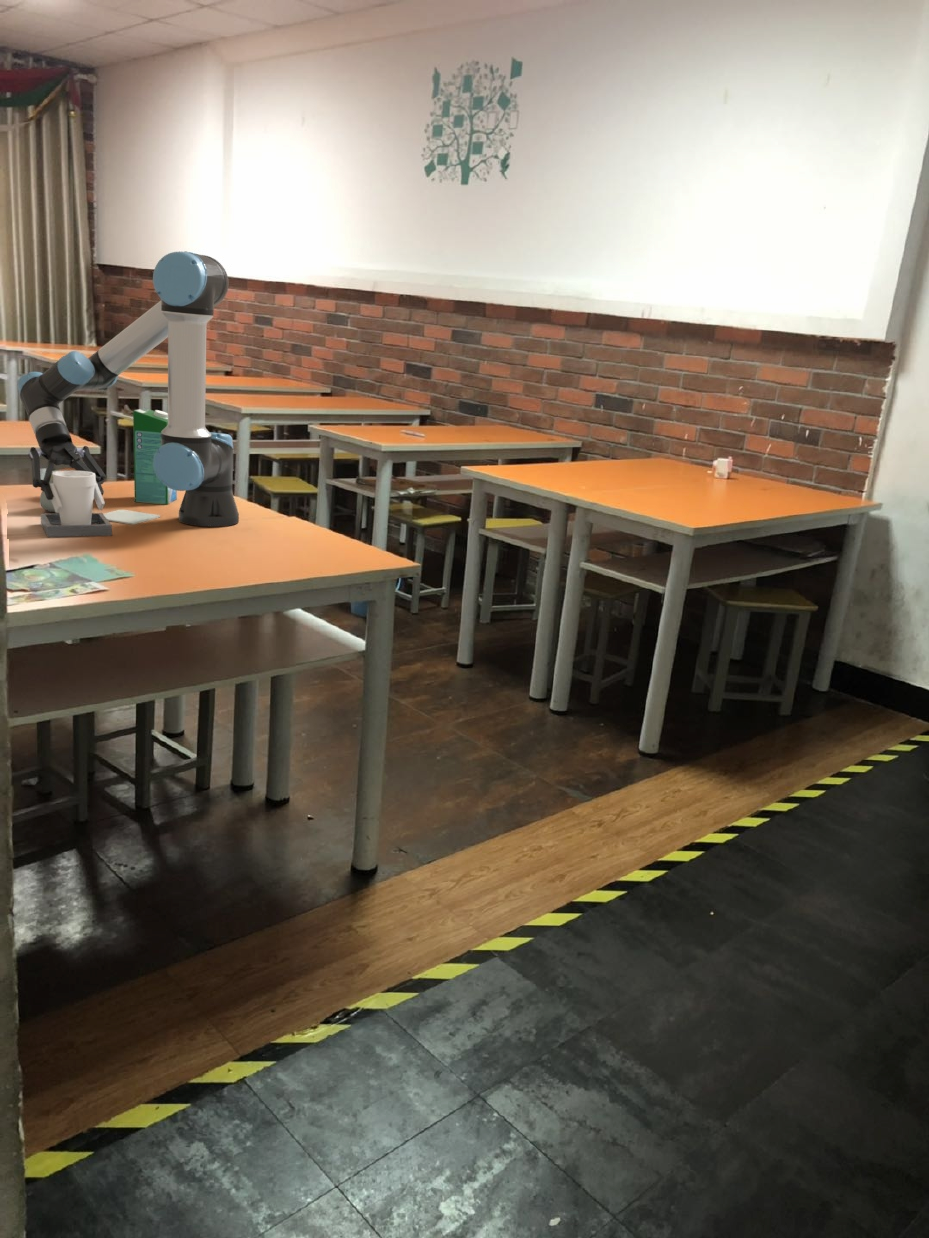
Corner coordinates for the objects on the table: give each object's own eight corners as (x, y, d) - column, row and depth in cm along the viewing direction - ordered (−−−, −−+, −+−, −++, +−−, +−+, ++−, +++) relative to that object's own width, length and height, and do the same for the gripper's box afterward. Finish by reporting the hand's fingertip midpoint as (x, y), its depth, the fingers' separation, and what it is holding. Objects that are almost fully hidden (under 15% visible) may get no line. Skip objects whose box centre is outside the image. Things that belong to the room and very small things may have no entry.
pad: (160, 517, 249) (160, 515, 249) (133, 524, 238) (133, 523, 238) (120, 510, 252) (120, 509, 252) (91, 518, 241) (91, 516, 241)
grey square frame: (102, 522, 238) (102, 512, 237) (111, 535, 226) (111, 525, 225) (40, 524, 231) (40, 513, 230) (47, 537, 219) (47, 526, 218)
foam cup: (54, 524, 231) (52, 470, 227) (95, 523, 234) (94, 470, 230) (55, 532, 222) (53, 477, 218) (98, 532, 226) (96, 477, 222)
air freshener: (73, 516, 242) (72, 477, 239) (38, 514, 240) (36, 475, 237) (83, 508, 252) (81, 470, 249) (49, 506, 250) (48, 468, 248)
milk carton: (167, 504, 264) (166, 413, 257) (134, 502, 264) (132, 410, 257) (177, 499, 273) (176, 410, 266) (145, 496, 273) (144, 407, 265)
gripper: (91, 439, 241) (121, 513, 235) (-1, 441, 226) (28, 521, 220) (100, 420, 235) (130, 496, 229) (6, 421, 221) (36, 502, 215)
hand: (80, 508), depth 225 cm, fingers closed on foam cup, 9 cm apart
